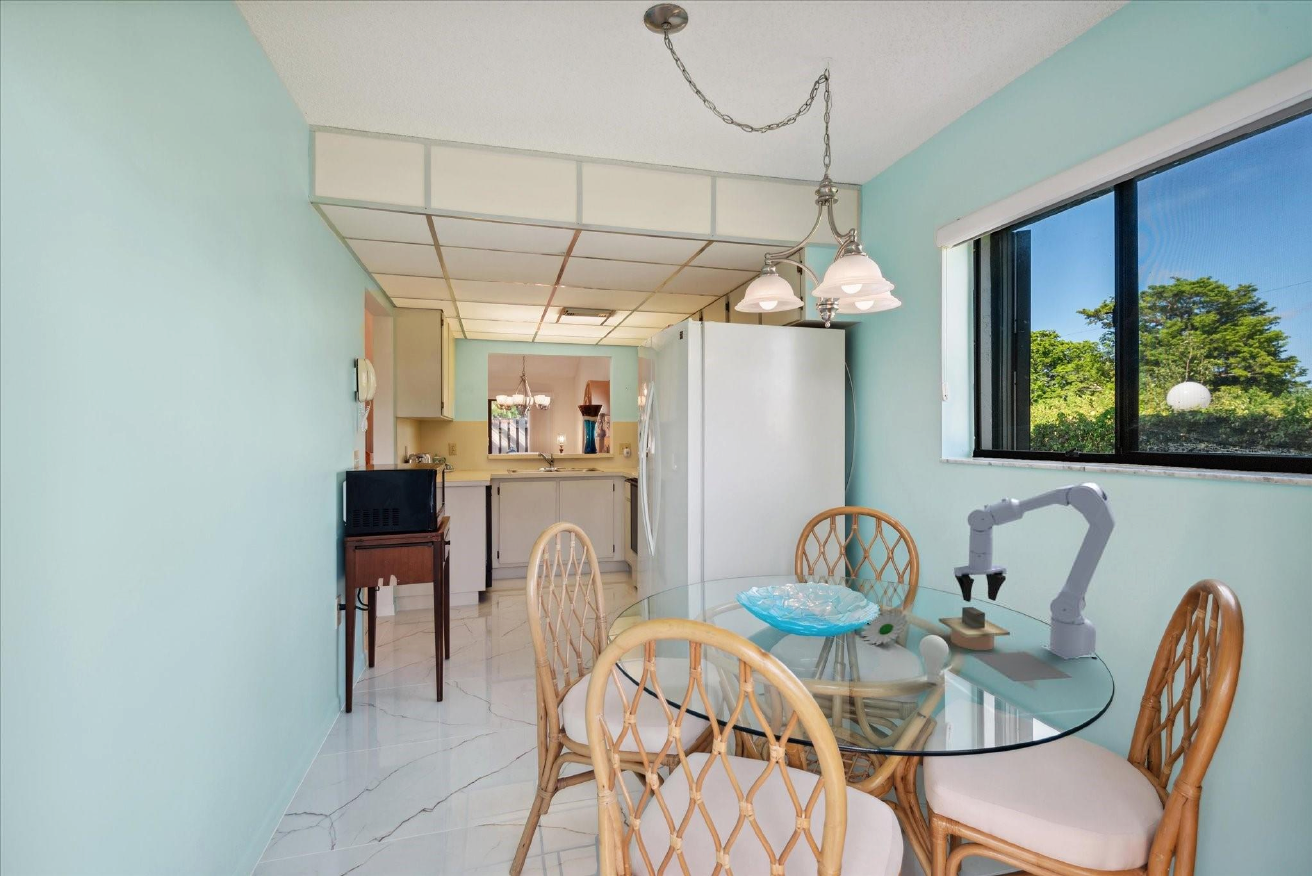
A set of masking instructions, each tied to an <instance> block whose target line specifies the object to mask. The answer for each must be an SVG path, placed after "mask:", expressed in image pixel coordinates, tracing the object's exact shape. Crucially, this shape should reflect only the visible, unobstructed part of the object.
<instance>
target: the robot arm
mask: <svg viewBox="0 0 1312 876" xmlns="http://www.w3.org/2000/svg"><path fill="white" fill-rule="evenodd" d="M1000 500H1001V501H1000V502H995V503H994V504H984V505H983V507H980V508H977V509H974V510H972V511H971V512H970V513H969V514H968V516H967V524H968V525H969V540H968V541H969V545H968V546H969V547H968V549H969V550H968V552H969V553H968V564H967V565H963V566H957V567H954V569H953V575H954V577H955V579H956V581H957V583H958V585H959V587H960V591H961V594H962V598H963V601H965V602H967V603H970V602H971V600H972V589H973V585H974V582H975V578H972V577H971V576H976V575H977V576H979V575H980V576H981V575H985V577H986V581H987V598H988V600H991V601H993V602H994V601H996V599H997V597H998V593H999V592H1000V588H1001V587H1002V585H1003V584H1004V582H1005V581H1006V576H1005V575H1007V567H1006V566H1003V565H993V550H994V549H993V547H994V546H993V545H994V535H993V534H994V531H993V530H994V526H1001V525H1002V526H1003V525H1005V524H1007V523H1011V522H1014V521H1018V520H1021V519H1022V518H1023V517H1024V514H1025V513H1027V512H1030V511H1033V510H1034V511H1035V510H1037V509H1041V508H1045V507H1048V506H1052V505H1056V504H1057V505H1060V506H1064V507H1065V506H1066V507H1068V506H1072V507H1073V508H1074V509H1075V510H1077V511H1078V512H1079V513H1080V514H1082V516H1083V517H1084V520H1085V521H1086V522H1087V523H1088V529H1087V531H1086V533H1085V536H1084V538H1083V541H1082V543H1081V546H1080V548H1079V550H1078V553H1077V555H1076V557H1075V560H1074V562H1073V565H1072V567H1071V569H1070V571H1069V574H1068V575H1067V576H1068V577H1067V578H1066V581H1065V583H1064V585H1063V587H1062V588H1061V591H1060V592H1059V593H1058V594H1057V596H1056V597H1055V598H1054V599H1053V600H1052V601H1051V603H1050V605H1049V609H1050V612H1051V614H1050V629H1049V631H1050V632H1049V646H1050V647H1047V646H1048V645H1041V648H1042V649H1044V650H1046V649H1050V650H1049V651H1048V652H1050V651H1051V652H1050V653H1052V654H1054V655H1057V656H1058V657H1060V658H1062V659H1064V660H1070V659H1069V658H1075V659H1077V658H1076V657H1079V656H1083V655H1089V654H1090V655H1091V654H1092V653H1094V654H1095V655H1096V641H1097V640H1096V637H1097V632H1096V627H1095V626H1094V624H1093V623H1092V621H1090V620H1089V619H1088V618H1084V616H1083V614H1082V612H1083V611H1084V610H1085V608H1086V594H1087V592H1088V588H1089V586H1090V583H1091V581H1092V579H1093V576H1094V574H1095V571H1096V569H1097V567H1098V565H1099V563H1100V560H1101V558H1102V556H1103V553H1104V551H1105V548H1106V547H1107V545H1108V542H1109V540H1110V537H1111V535H1112V532H1113V530H1114V528H1115V524H1116V521H1115V517H1114V514H1113V510H1112V507H1111V504H1110V500H1109V496H1108V495H1107V493H1106V492H1105V491H1104V490H1103V488H1102V487H1101V486H1100V485H1098V484H1097V483H1094V482H1092V481H1091V482H1089V481H1087V482H1082V483H1079V484H1072V485H1065V486H1061V487H1057V488H1054V489H1051V490H1048V491H1046V492H1042V493H1039V494H1037V495H1035V496H1034V495H1033V496H1032V497H1028V498H1026V499H1022V500H1018V499H1016V498H1008V497H1005V498H1002V499H1000ZM1044 646H1046V647H1044ZM1090 651H1091V652H1092V653H1091V652H1090Z"/></svg>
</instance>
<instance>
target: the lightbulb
mask: <svg viewBox="0 0 1312 876" xmlns="http://www.w3.org/2000/svg"><path fill="white" fill-rule="evenodd" d="M918 648H919V653H920V655H921V657H922V659H923V661H924V664H925V671H926V679H927V681H928V682H929V683H930V684H932V683H934V684H936V683H939V682H940V675H941V673H942V667H943V665H944V663H945V662H946V660H947V659H948V657H949V652H950V649H949V646H948V643H947V642H946V641H945V640H944V639H943V638H942V637H940V636H939V635H936V634H935V635H934V634H930V635H927V636H924V637H923V638H921V640H920V642H919V647H918ZM934 684H933V685H934Z"/></svg>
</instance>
